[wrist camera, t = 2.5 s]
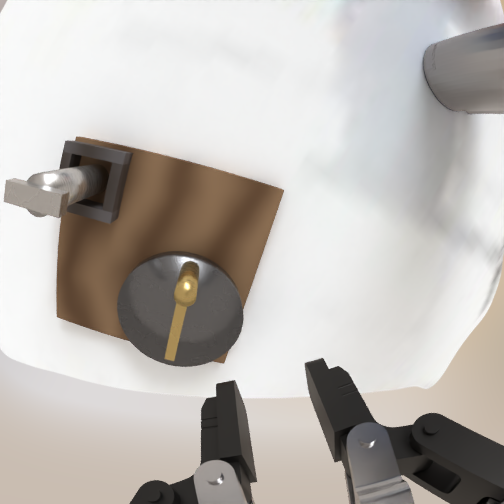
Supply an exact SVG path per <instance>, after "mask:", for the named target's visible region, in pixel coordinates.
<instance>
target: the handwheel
mask: <svg viewBox="0 0 504 504" xmlns="http://www.w3.org/2000/svg"><path fill="white" fill-rule="evenodd" d="M117 312H118V318H119V322H120V325H121V327H122V329H123V331H124V333H125V335H126V336H127V338H128V339H129V340H130V342H131V343H132V344H133V345H134V346H135V347H136V348H137V349H138V350H140V351H141V352H142V353H144V354H145V355H147V356H148V357H150V358H152V359H154V360H156V361H159V362H161V363H164V364H168V365H173V366H182V367H188V366H198V365H202V364H206V363H209V362H211V361H214V360H215V359H217V358H219V357H221V356H222V355H224V354H225V353H226V352H227V351H228V350H229V349H230V348H231V347H232V346H233V345H234V343H235V342H236V340H237V339H238V337H239V335H240V332H241V329H242V325H243V308H242V302H241V297H240V294H239V291H238V288H237V286H236V284H235V282H234V281H233V280H232V278H231V277H230V275H229V274H228V273H227V272H226V271H225V270H224V269H223V268H222V267H220V266H219V265H218V264H216V263H215V262H213V261H212V260H210V259H208V258H206V257H204V256H201V255H198V254H195V253H190V252H185V251H168V252H163V253H159V254H156V255H153V256H151V257H149V258H146V259H145V260H143V261H142V262H140V263H139V264H138V265H137V266H136V267H135V268H134V269H133V270H132V271H131V272H130V274H129V275H128V277H127V278H126V280H125V281H124V283H123V285H122V287H121V289H120V292H119V295H118V300H117Z"/></svg>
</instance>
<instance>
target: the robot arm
mask: <svg viewBox="0 0 504 504" xmlns="http://www.w3.org/2000/svg"><path fill="white" fill-rule="evenodd" d="M424 71H425V75H426V79H427V81H428V84H429V86H430V88H431V90H432V92H433V93H434V95H435V96H436V97H437V99H438V100H439V101H440V102H441V103H442V104H443V105H444V106H446V107H447V108H448V109H451V110H453V111H465V112H467V113H468V114H504V23H502V24H498V25H494V26H490V27H486V28H482V29H479V30H475V31H472V32H468V33H465V34H462V35H459V36H455V37H452V38H449V39H446V40H443V41H440V42H437V43H435V44H432V45H430V46H429V47H428V48H427V50H426V51H425V55H424ZM305 370H306V377H307V384H308V390H309V394H310V398H311V401H312V403H313V406H314V409H315V411H316V414H317V417H318V419H319V422H320V425H321V427H322V430H323V433H324V435H325V438H326V441H327V443H328V446H329V449H330V451H331V454H332V456H333V459H334V462H338V461H342V463H343V466H344V468H345V479H346V484H347V491H348V497H349V504H414V500H413V497H412V493H411V490H410V487H409V485H408V483H407V482H406V481H404V480H403V479H402V477H401V475H404V476H406V477H407V478H409V479H410V480H412V481H413V482H415V483H417V484H418V485H420V486H422V487H423V488H425V489H426V490H428V491H430V492H431V493H433V494H435V495H436V496H438V497H440V498H441V499H443V500H445V501H446V502H448V503H450V504H504V446H503V445H500V444H498V443H496V442H494V441H492V440H490V439H488V438H486V437H484V436H482V435H480V434H478V433H476V432H474V431H472V430H470V429H468V428H466V427H464V426H462V425H460V424H458V423H456V422H454V421H452V420H450V419H448V418H446V417H445V416H443V415H440V414H437V413H429V414H425V415H422V416H421V417H419V418H418V419H417V420H416V421H415V423H414V424H413V425H408V426H403V427H393V428H392V427H386V426H383V425H381V424H379V423H377V422H376V421H375V420H374V418H373V417H372V415H371V413H370V411H369V409H368V408H367V406H366V404H365V402H364V400H363V399H362V397H361V395H360V393H359V391H358V389H357V388H356V386H355V384H354V383H353V380H352V379H351V377H350V375H349V373H348V372H346V371H345V370H343V369H342V368H341V367H339V366H337V367H334V368H331V369H328V367H327V365H326V363H325V361H324V359H323V358H321V359H317V360H314V361H311V362H307V363H305ZM201 420H202V421H201V429H202V430H201V464H200V466H199V467H198V468H197V470H196V471H195V474H194V475H192V476H191V477H189V478H187V479H185V480H182V481H180V482H177V483H174V484H171V485H168V484H167V483H165V482H163V481H158V480H154V481H150V482H147V483H145V484H144V485H142V486H141V487H140V489H139V490H138V492H137V493H136V495H135V496H134V498H133V499H132V501H131V502H130V504H255V503H254V500H253V497H252V494H251V486H250V483H252V482H257V478H256V472H255V466H254V459H253V453H252V446H251V440H250V433H249V427H248V419H247V414H246V409H245V406H244V403H243V400H242V397H241V395H240V392H239V389H238V387H237V384H236V382H235V380H233V381H228V382H223V383H218V384H216V397H212V398H207V399H206V400H205V403H204V405H203V406H202V409H201Z"/></svg>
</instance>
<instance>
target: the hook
mask: <svg viewBox="0 0 504 504" xmlns="http://www.w3.org/2000/svg"><path fill="white" fill-rule="evenodd" d="M108 179H109V175H108V172H107V170H106V168H105V167H104V166H102V165H100V164H92V165H85V166H78V167H71V168H65V169H59V170H53V171H48V172H42V173H37V174H34V175H32V176H31V177H30V178H29V179H28V180H27V181H24V180H20V179H16V178H13V179H9V180H6V185H5V194H4V202H7V203H10V204H13V205H16V206H20V207H23V208H26V209H27V210H28V211H29V212H30V213H31V214H32V215H34V216H36V217H44V216H46V215H50V216H54V217H57V218H60V217H62V216H64V215H66V212H67V206H69V205H71V204H73V203H76V202H78V201H81V200H83V199H86V198H88V197H91V196H93V195H96V194H98V193H101V192H102V191H104V190H105V189H106V187H107V183H108Z"/></svg>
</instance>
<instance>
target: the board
mask: <svg viewBox="0 0 504 504" xmlns="http://www.w3.org/2000/svg"><path fill="white" fill-rule="evenodd" d="M92 164H100V165H102V166H104V167H105V168H106V170H107V172H108V175H109V179H108V183H107V187H106V189H105V190H104V191H102V192H101V193H98V194H96V195H93V196H91V197H88V198H86V199H83V200H81V201H78V202H76V203H73V204H71V205H69V206H67V212H66V215H64V216H62V217H61V224H60V234H59V245H58V260H57V317H58V318H61V319H64V320H66V321H69V322H72V323H75V324H78V325H80V326H83V327H86V328H89V329H92V330H95V331H98V332H101V333H105V334H108V335H111V336H114V337H117V338H121V339H124V340H128V341H130V340H129V339H128V338H127V336H126V335H125V333H124V331H123V329H122V327H121V325H120V322H119V318H118V312H117V300H118V295H119V292H120V289H121V287H122V285H123V283H124V281H125V280H126V278H127V277H128V275H129V274H130V272H131V271H132V270H133V269H134V268H135V267H136V266H137V265H138V264H139V263H140V262H142V261H143V260H145V259H146V258H149V257H151V256H153V255H156V254H159V253H163V252H168V251H185V252H190V253H195V254H198V255H201V256H204V257H206V258H208V259H210V260H212V261H213V262H215V263H216V264H218V265H219V266H220V267H222V268H223V269H224V270H225V271H226V272H227V273H228V274H229V275H230V277H231V278H232V280H233V281H234V282H235V284H236V286H237V288H238V291H239V294H240V297H241V302H242V308H244V305H245V303H246V300H247V297H248V294H249V291H250V288H251V285H252V282H253V280H254V277H255V274H256V271H257V268H258V265H259V262H260V259H261V256H262V254H263V251H264V248H265V245H266V242H267V239H268V236H269V233H270V230H271V227H272V224H273V221H274V219H275V216H276V213H277V210H278V207H279V204H280V201H281V198H282V195H283V192H284V190H282V189H280V188H277V187H274V186H271V185H268V184H264V183H261V182H258V181H255V180H252V179H248V178H245V177H242V176H238V175H235V174H232V173H228V172H225V171H221V170H218V169H214V168H211V167H207V166H203V165H200V164H196V163H192V162H189V161H185V160H181V159H177V158H173V157H169V156H165V155H161V154H157V153H153V152H149V151H145V150H141V149H136V148H132V147H127V146H123V145H118V144H114V143H109V142H104V141H99V140H94V139H89V138H84V137H76V140H75V141H65V145H64V149H63V154H62V159H61V164H60V169H65V168H71V167H78V166H85V165H92ZM228 351H229V350H228ZM228 351H227V352H226V353H225V354H224V355H222V356H221V357H219V358H217V359H215V360H214V362H219V363H224V362H225V359H226V356H227V354H228Z"/></svg>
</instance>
